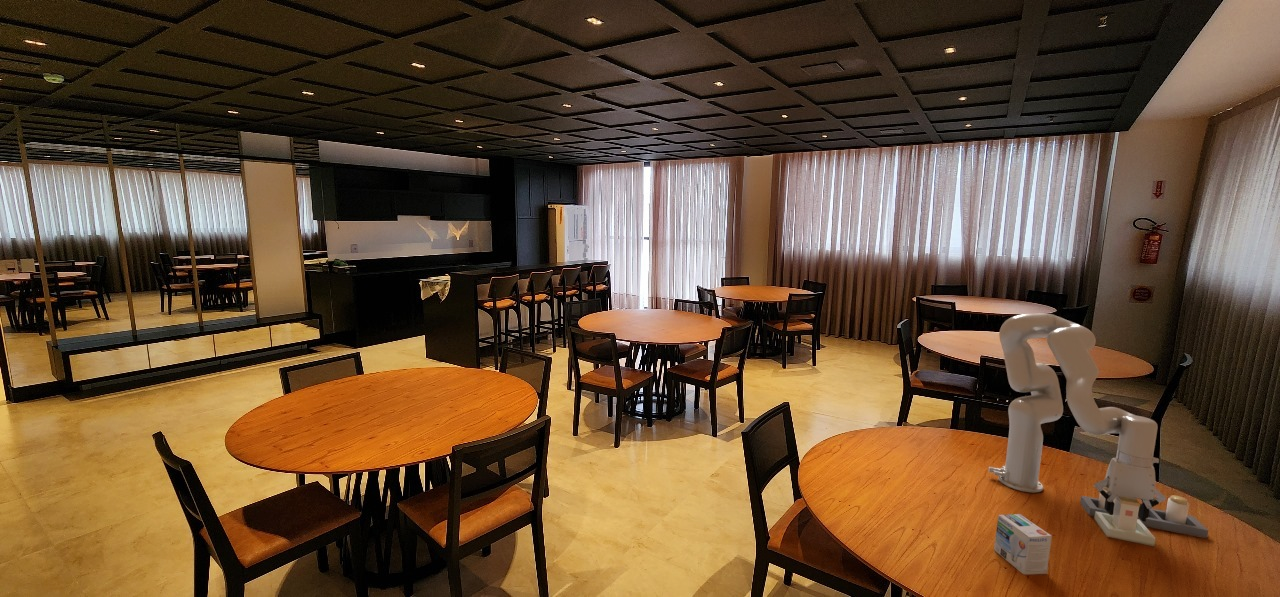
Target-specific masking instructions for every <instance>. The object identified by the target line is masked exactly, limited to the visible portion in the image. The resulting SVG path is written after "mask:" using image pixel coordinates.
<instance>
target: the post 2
mask: <svg viewBox="0 0 1280 597" xmlns="http://www.w3.org/2000/svg"><path fill="white" fill-rule="evenodd" d="M1166 503H1167V504H1166V510H1165V511H1166V515H1165V521H1170V522H1175V523H1181V524H1186V520H1187V515H1189V514H1188V513H1189V508H1190V503H1189V502H1188V499H1187V498H1185V497H1183V496H1180V495H1175V494H1174V495H1170V496H1169V497H1168V499H1167V502H1166Z"/></svg>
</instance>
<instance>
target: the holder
mask: <svg viewBox="0 0 1280 597" xmlns="http://www.w3.org/2000/svg"><path fill="white" fill-rule="evenodd" d="M1079 503H1080V505H1081V506H1082V508H1083V509H1084V511H1085V512H1086V513H1087V514H1088V516H1091V517H1095V511H1097V512H1102V513H1107V514H1108V512H1107V511H1106V510H1105V509H1101V508H1098V503H1099V498H1096V497H1090V496H1086V495H1080V500H1079ZM1113 512H1114V511H1113ZM1165 515H1166V510H1162V509H1155V508H1152V509H1149V515H1148V518H1146V522H1144V521H1142V520H1141V519H1140V518H1139V517H1138V518H1137V519H1139V520H1140V521H1141V522H1142V523H1143V524H1144V525H1145V527H1146V528H1152V529H1157V530H1161V531H1167V532H1173V533H1179V534H1182V535H1188V536H1193V537H1198V538H1203V539H1208V534H1209V529H1208V528H1206V527H1205V525H1203V523H1201V522H1200V521H1199V520H1198V519H1197V518H1196V517H1195V516H1193V515H1191V514H1187V520H1186V524H1181V523H1175V522H1170V521H1165Z"/></svg>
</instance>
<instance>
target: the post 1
mask: <svg viewBox="0 0 1280 597" xmlns="http://www.w3.org/2000/svg"><path fill="white" fill-rule="evenodd" d="M1102 489H1103V490H1104V491H1105V492H1107V491H1108V490H1109V488H1107V487H1103V488H1102ZM1098 499H1099V503H1098V508H1101V509H1105V508H1104V507H1105V500H1106V498H1105V497H1104V496H1103V495H1102V494H1101V493H1100V492H1099V497H1098ZM1115 499H1116V498H1115ZM1115 499H1114V500H1113V502H1114V504H1115Z"/></svg>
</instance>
